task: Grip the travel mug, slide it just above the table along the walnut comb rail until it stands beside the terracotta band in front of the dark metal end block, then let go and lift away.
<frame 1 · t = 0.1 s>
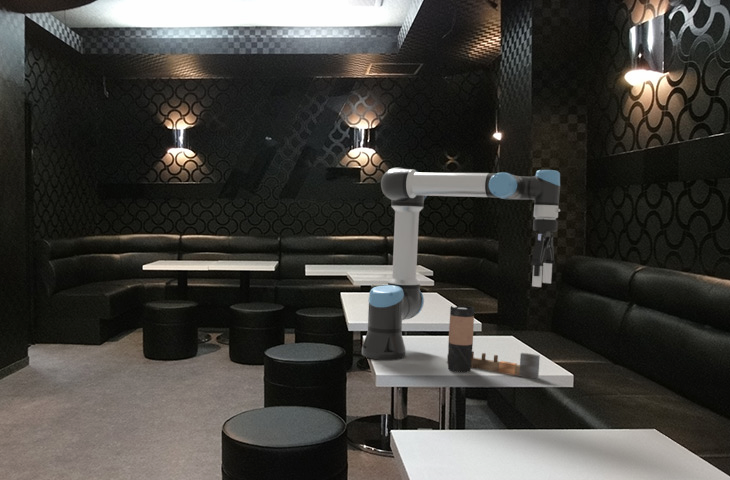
hand: (541, 284, 193), 28 cm above the table, tool pointing down, fingers open, 13 cm apart
travel mug: (459, 370, 192), on the table
comb rail: (482, 368, 194), on the table
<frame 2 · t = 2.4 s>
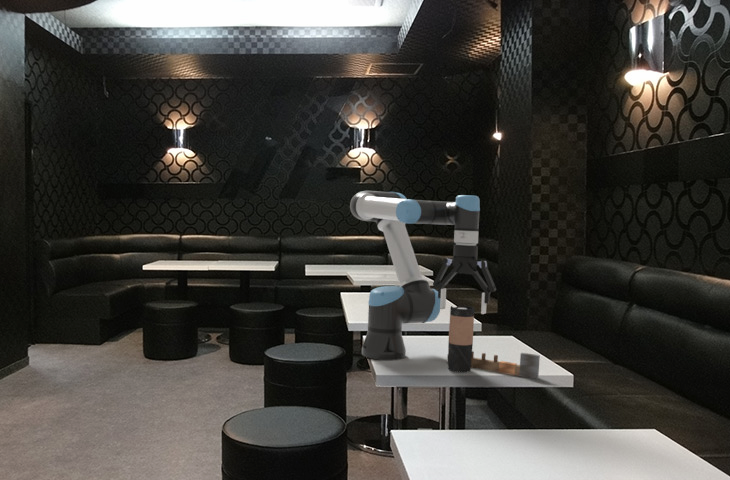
hand: (462, 311, 191), 19 cm above the table, tool pointing down, fingers open, 13 cm apart
nothing on the table moved.
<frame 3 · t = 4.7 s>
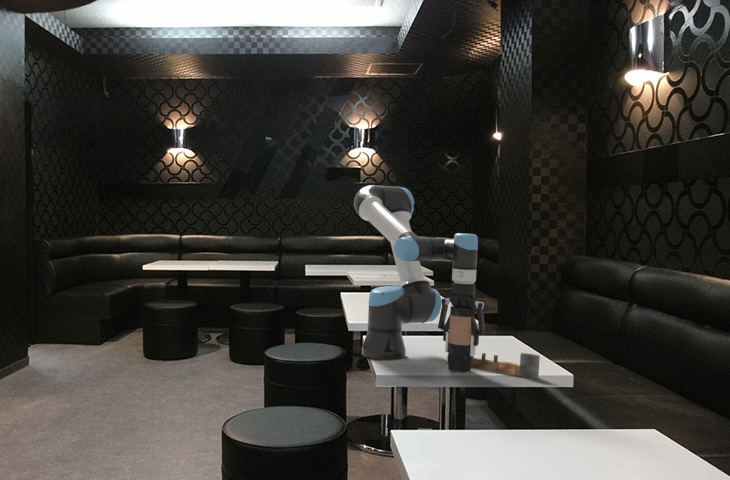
hand: (460, 353, 192), 5 cm above the table, tool pointing down, fingers closed on travel mug, 8 cm apart
travel mug: (459, 370, 192), on the table, touching gripper
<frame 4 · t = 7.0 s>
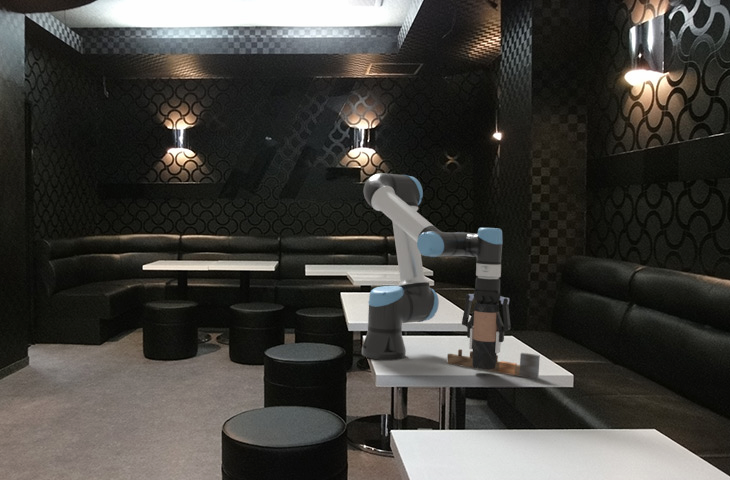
hand: (484, 350, 188), 7 cm above the table, tool pointing down, fingers closed on travel mug, 8 cm apart
travel mug: (483, 367, 188), point 2 cm above the table, touching gripper
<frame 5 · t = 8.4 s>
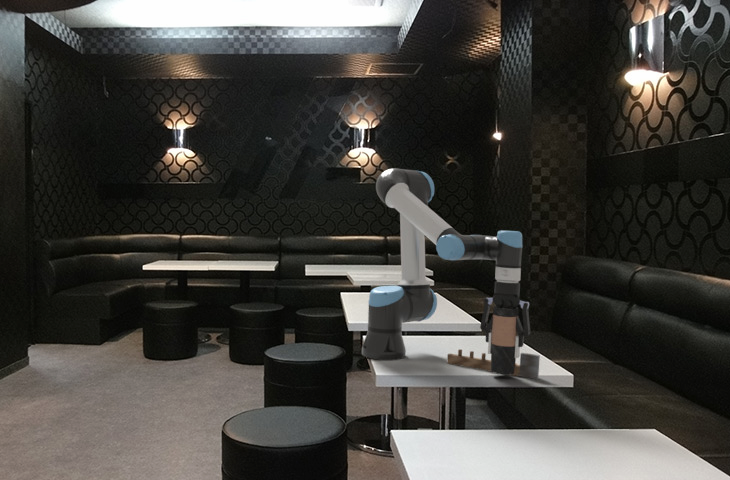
hand: (503, 355, 185), 7 cm above the table, tool pointing down, fingers closed on travel mug, 8 cm apart
travel mug: (502, 372, 185), point 1 cm above the table, touching gripper
when the fingers open (6 cm above the table, at t = 9.3 s): travel mug stays where it is, on the table.
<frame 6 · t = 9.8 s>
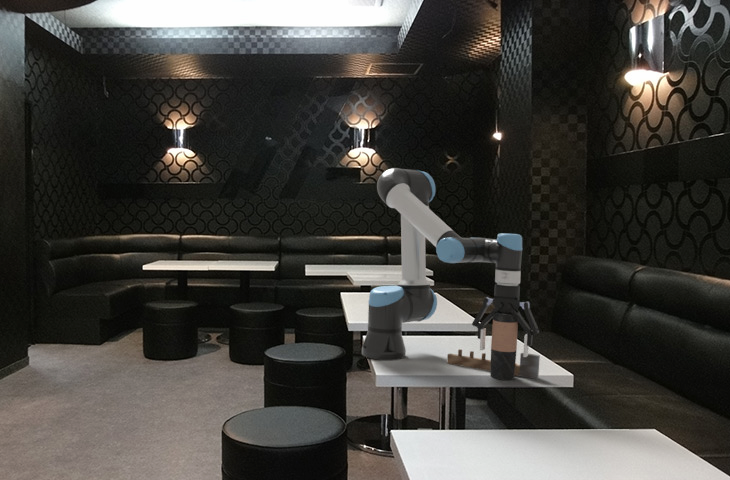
hand: (503, 352, 185), 7 cm above the table, tool pointing down, fingers open, 13 cm apart
travel mug: (502, 377, 185), on the table
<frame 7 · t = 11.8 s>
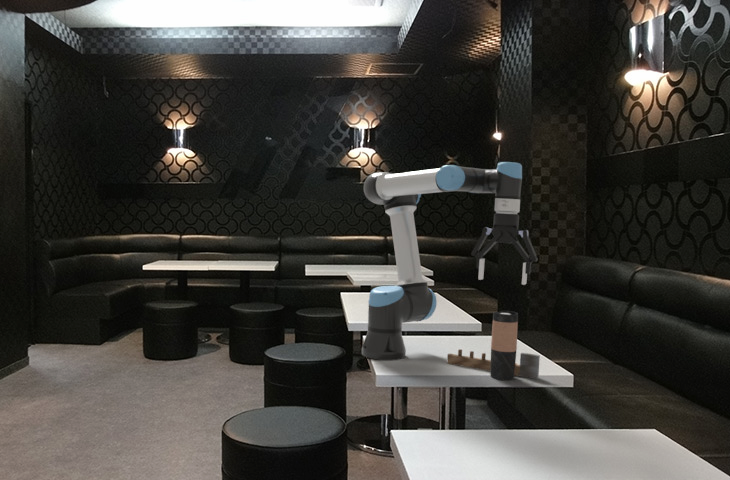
hand: (502, 281, 186), 29 cm above the table, tool pointing down, fingers open, 13 cm apart
nothing on the table moved.
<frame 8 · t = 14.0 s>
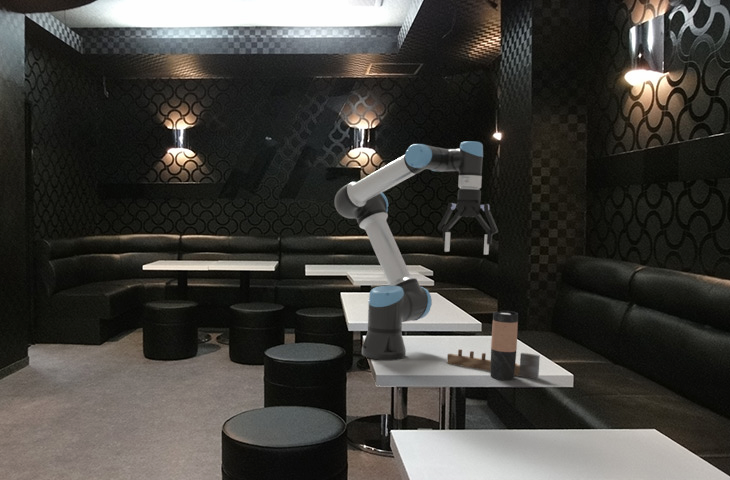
hand: (466, 253, 200), 37 cm above the table, tool pointing down, fingers open, 13 cm apart
nothing on the table moved.
at the end: travel mug 0.0 cm from the target spot, on the table; travel mug tilted 0°; the gripper is holding nothing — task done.
